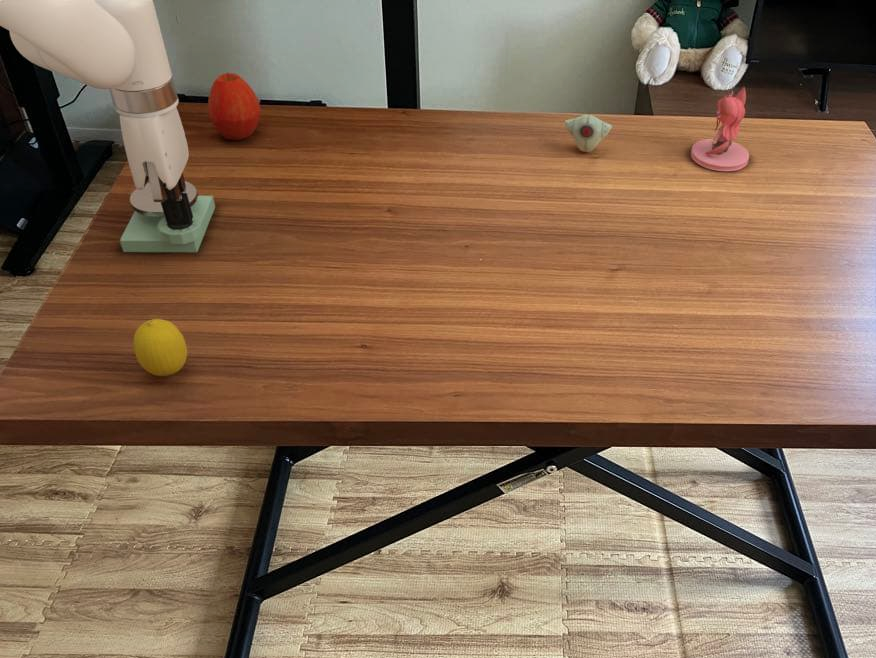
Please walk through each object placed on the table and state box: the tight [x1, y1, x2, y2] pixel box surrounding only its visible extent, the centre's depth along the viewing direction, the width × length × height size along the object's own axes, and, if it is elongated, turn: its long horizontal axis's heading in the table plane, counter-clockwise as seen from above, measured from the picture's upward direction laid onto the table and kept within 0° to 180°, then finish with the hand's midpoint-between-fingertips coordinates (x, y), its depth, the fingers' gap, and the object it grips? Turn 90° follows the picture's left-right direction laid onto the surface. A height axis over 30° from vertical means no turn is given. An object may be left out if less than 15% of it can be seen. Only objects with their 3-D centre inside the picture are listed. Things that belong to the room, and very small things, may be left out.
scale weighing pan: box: [129, 180, 199, 217], centre depth 124 cm, size 9×9×1 cm
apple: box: [207, 72, 261, 142], centre depth 142 cm, size 8×8×11 cm
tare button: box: [169, 223, 191, 230], centre depth 121 cm, size 3×3×2 cm
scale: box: [119, 195, 216, 253], centre depth 124 cm, size 13×11×4 cm
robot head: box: [564, 114, 613, 153], centre depth 145 cm, size 8×4×7 cm, turn 82°
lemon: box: [133, 318, 188, 377], centre depth 100 cm, size 6×6×8 cm
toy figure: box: [690, 86, 750, 172], centre depth 144 cm, size 10×10×12 cm
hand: (180, 221), depth 120 cm, fingers closed
